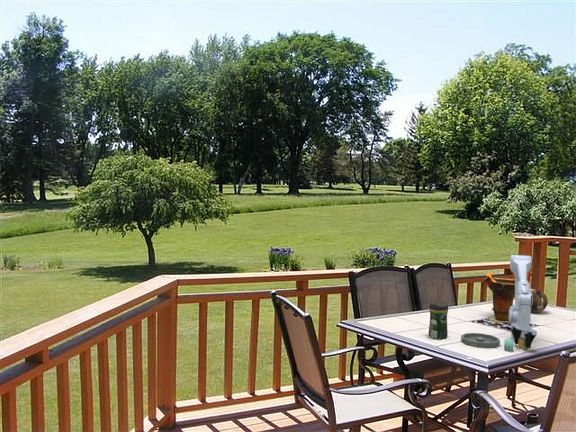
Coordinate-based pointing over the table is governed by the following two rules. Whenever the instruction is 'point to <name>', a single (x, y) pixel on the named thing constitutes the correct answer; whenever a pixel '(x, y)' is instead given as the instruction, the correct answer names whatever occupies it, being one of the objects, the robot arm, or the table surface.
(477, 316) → the table surface
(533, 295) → the wooden sphere
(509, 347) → the teal cylinder
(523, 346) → the tan wooden cylinder
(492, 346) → the ring tray
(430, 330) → the coffee jar
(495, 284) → the decorative vase
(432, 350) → the table surface
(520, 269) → the robot arm
